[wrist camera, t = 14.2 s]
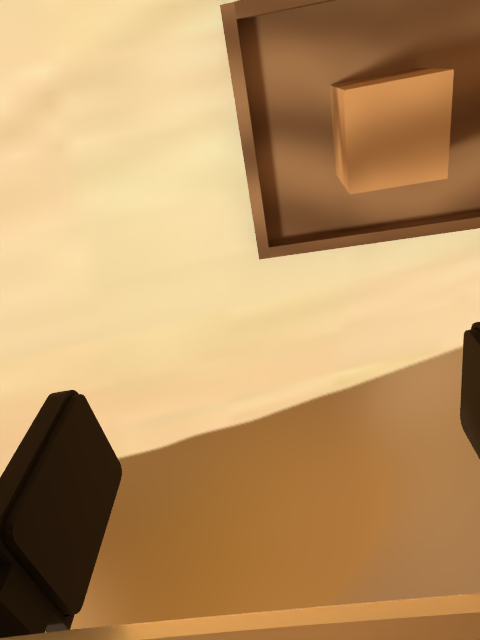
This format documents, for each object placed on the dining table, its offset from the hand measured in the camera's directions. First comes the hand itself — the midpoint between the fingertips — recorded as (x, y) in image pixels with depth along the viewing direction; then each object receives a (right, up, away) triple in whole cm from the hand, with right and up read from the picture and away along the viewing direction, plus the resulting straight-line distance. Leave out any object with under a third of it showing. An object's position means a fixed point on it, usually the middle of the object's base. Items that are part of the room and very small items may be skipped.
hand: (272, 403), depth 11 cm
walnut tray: (+8, +16, +19) cm, 26 cm away
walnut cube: (+8, +15, +18) cm, 25 cm away
